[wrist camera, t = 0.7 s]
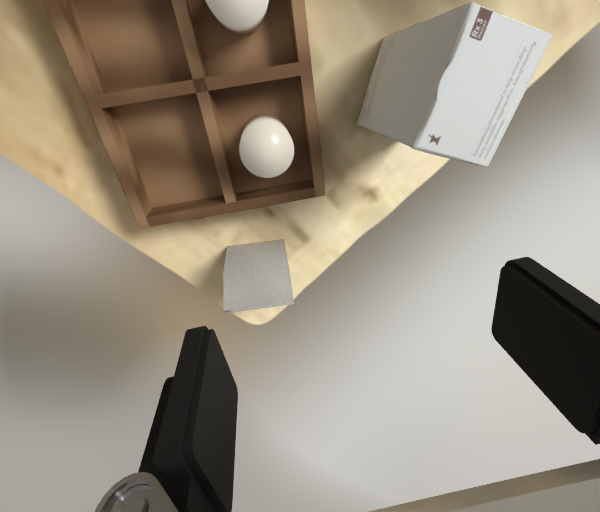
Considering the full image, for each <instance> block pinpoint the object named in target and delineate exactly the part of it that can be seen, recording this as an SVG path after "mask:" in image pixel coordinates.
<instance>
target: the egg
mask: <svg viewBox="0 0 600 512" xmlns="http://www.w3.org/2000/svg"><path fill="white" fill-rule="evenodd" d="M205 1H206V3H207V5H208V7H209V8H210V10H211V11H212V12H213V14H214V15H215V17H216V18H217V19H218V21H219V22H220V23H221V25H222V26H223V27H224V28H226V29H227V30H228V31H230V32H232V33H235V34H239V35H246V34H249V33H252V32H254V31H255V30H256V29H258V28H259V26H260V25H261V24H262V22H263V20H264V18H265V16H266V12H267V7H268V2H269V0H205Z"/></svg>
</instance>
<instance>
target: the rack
mask: <svg viewBox="0 0 600 512" xmlns="http://www.w3.org/2000/svg"><path fill="white" fill-rule="evenodd" d="M43 3H44V5H45V7H46V10H47V12H48V14H49V17H50V19H51V21H52V24H53V26H54V28H55V31H56V33H57V35H58V38H59V40H60V43H61V45H62V47H63V50H64V52H65V54H66V57H67V59H68V61H69V64H70V66H71V68H72V71H73V73H74V75H75V78H76V80H77V83H78V85H79V87H80V90H81V92H82V94H83V97H84V99H85V101H86V104H87V106H88V108H89V111H90V113H91V115H92V118H93V120H94V123H95V125H96V127H97V130H98V132H99V134H100V137H101V139H102V141H103V144H104V146H105V148H106V151H107V153H108V155H109V158H110V160H111V162H112V165H113V167H114V170H115V172H116V174H117V177H118V179H119V181H120V184H121V186H122V188H123V191H124V193H125V195H126V198H127V200H128V202H129V205H130V207H131V210H132V212H133V214H134V217H135V219H136V221H137V224H138V226H139V228H144V227H150V226H156V225H161V224H167V223H172V222H178V221H184V220H189V219H195V218H201V217H206V216H212V215H217V214H223V213H229V212H234V211H240V210H245V209H251V208H257V207H262V206H268V205H273V204H279V203H285V202H290V201H296V200H301V199H307V198H313V197H318V196H324V195H325V187H324V178H323V169H322V160H321V150H320V141H319V132H318V123H317V113H316V104H315V95H314V85H313V76H312V67H311V58H310V48H309V39H308V30H307V20H306V11H305V2H304V0H269V2H268V7H267V12H266V16H265V18H264V20H263V22H262V24H261V25H260V26H259V28H258V29H256V30H255V31H254V32H252V33H249V34H246V35H239V34H235V33H232V32H230V31H228V30H227V29H226V28H224V27H223V26H222V25H221V23H220V22H219V21H218V19H217V18H216V17H215V15H214V14H213V12H212V11H211V10H210V8H209V7H208V5H207V3H206V1H205V0H43ZM261 113H267V114H271V115H274V116H276V117H277V118H279V119H280V120H281V121H282V122H283V124H284V125H285V127H286V129H287V131H288V133H289V134H290V136H291V138H292V141H293V144H294V157H293V160H292V162H291V164H290V166H289V167H288V169H287V170H286V171H285V172H283V173H282V174H280V175H278V176H276V177H272V178H263V177H259V176H256V175H254V174H253V173H251V172H250V171H249V170H248V169H247V168H246V167H245V166H244V164H243V162H242V160H241V157H240V153H239V145H240V140H241V135H242V130H243V127H244V125H245V123H246V122H247V121H248V120H249V119H250V118H251V117H253V116H254V115H257V114H261Z"/></svg>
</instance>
